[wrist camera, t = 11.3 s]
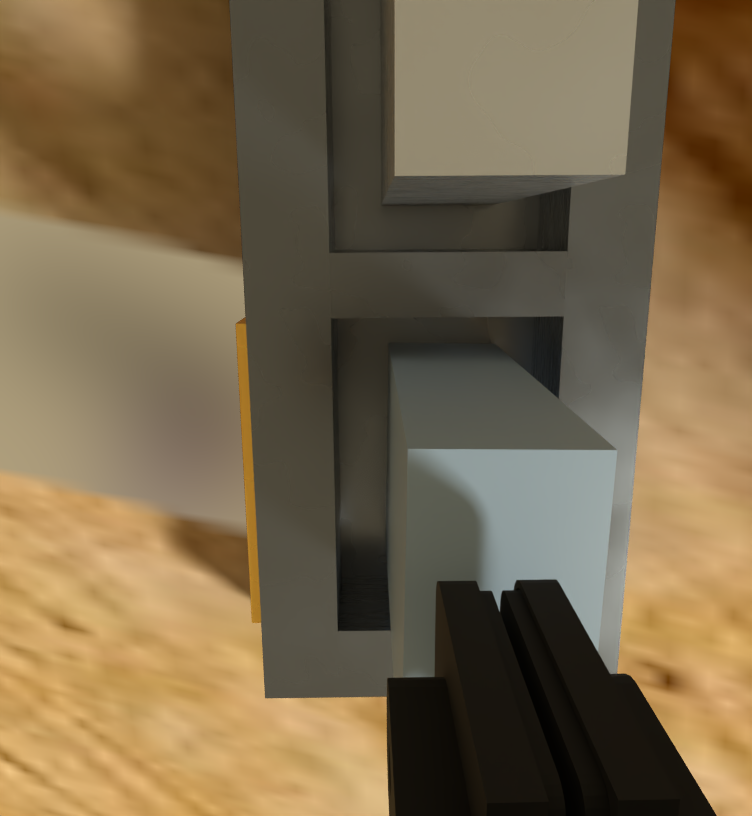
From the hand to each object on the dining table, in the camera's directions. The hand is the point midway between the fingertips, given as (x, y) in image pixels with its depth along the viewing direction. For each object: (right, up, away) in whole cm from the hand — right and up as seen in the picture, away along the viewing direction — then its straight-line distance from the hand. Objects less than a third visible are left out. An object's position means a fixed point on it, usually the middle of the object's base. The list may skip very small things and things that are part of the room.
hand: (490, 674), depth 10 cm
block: (0, +3, +11) cm, 11 cm away
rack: (0, +8, +10) cm, 13 cm away
